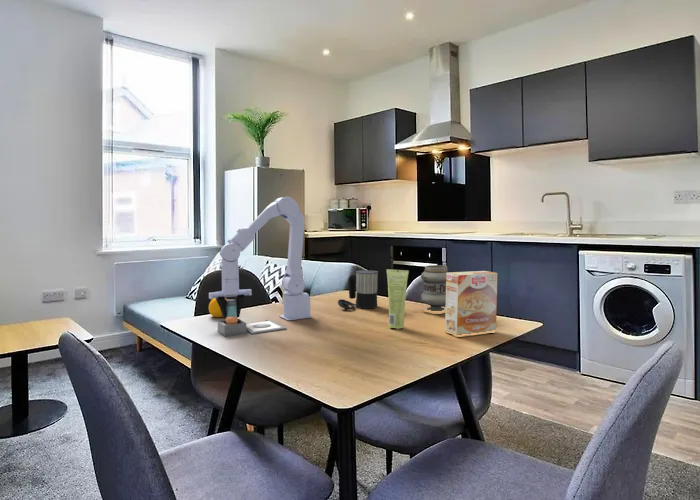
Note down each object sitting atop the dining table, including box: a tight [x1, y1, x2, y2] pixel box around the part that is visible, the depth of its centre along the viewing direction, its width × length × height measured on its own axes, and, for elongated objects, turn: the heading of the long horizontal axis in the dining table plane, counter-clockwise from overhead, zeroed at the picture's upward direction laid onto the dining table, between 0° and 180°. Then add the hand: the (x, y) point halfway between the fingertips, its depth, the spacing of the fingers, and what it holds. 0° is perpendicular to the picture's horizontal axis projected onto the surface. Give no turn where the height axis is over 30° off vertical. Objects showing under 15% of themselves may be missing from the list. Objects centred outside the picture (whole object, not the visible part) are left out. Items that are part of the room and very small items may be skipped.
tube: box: [386, 269, 410, 329], centre depth 151 cm, size 6×5×20 cm
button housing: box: [217, 318, 247, 337], centre depth 145 cm, size 7×7×3 cm
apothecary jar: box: [420, 264, 450, 311], centre depth 176 cm, size 12×12×18 cm
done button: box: [226, 317, 239, 325], centre depth 145 cm, size 4×4×2 cm
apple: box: [208, 297, 228, 318], centre depth 169 cm, size 8×8×8 cm
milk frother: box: [337, 269, 379, 311], centre depth 184 cm, size 14×16×15 cm
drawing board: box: [246, 319, 288, 335], centre depth 152 cm, size 12×13×1 cm
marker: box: [224, 299, 237, 321], centre depth 158 cm, size 4×4×8 cm
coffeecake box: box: [444, 270, 498, 335], centre depth 144 cm, size 15×7×20 cm, turn 112°
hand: (231, 317), depth 158 cm, fingers closed on marker, 4 cm apart
